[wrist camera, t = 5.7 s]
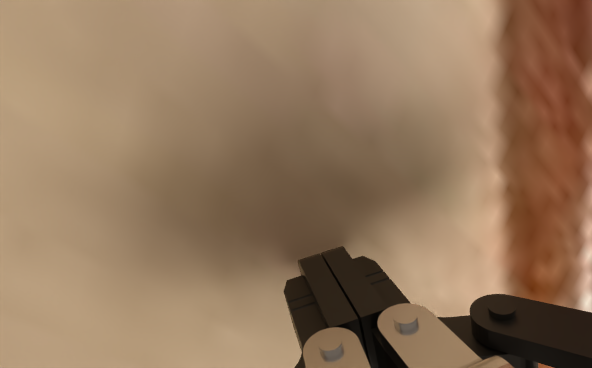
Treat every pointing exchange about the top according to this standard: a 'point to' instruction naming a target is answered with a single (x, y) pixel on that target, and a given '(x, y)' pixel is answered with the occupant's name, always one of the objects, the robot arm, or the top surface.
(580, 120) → the top surface
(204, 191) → the top surface
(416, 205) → the top surface
